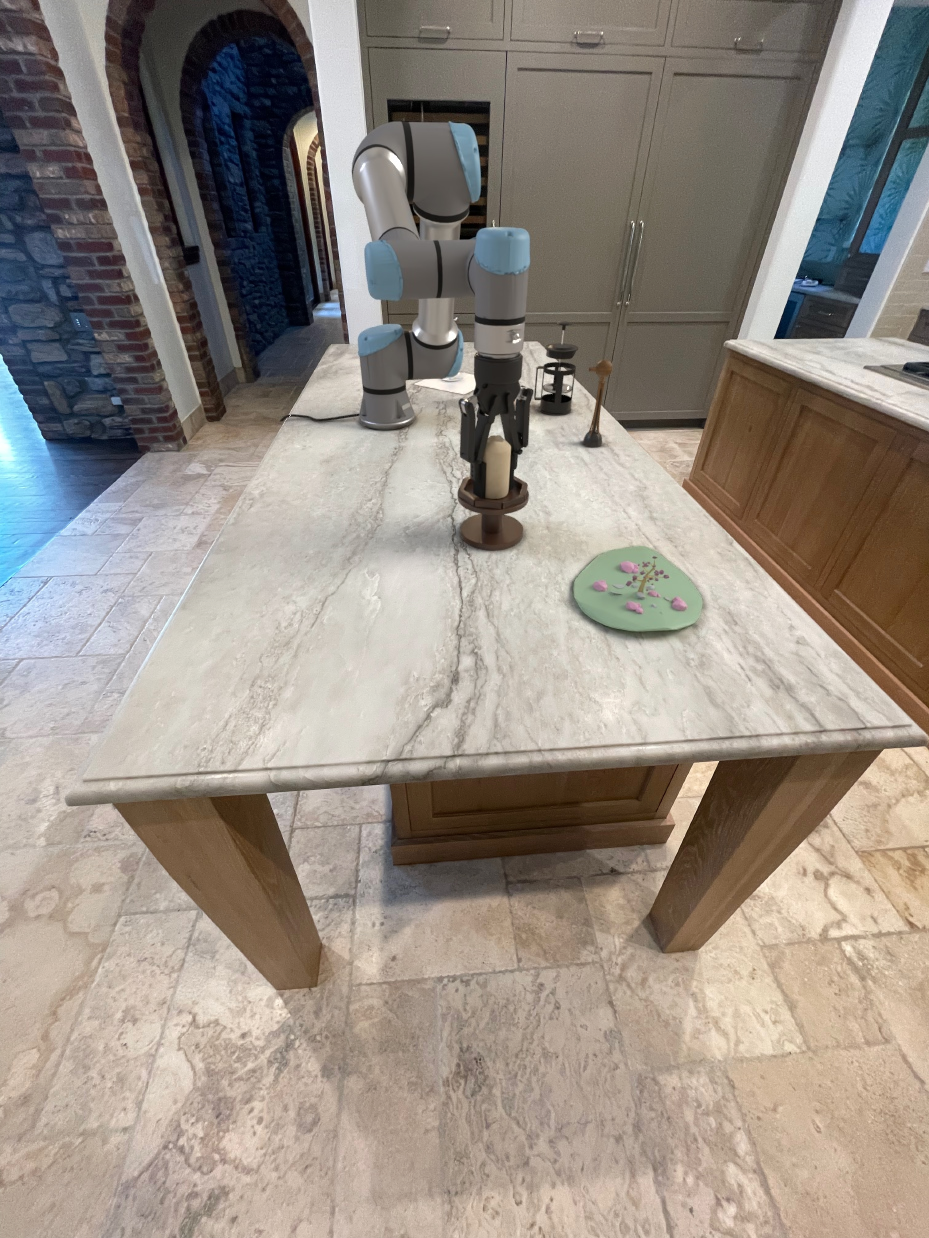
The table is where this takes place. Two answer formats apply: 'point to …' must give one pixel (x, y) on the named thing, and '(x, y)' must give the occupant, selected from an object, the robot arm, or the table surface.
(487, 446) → the candle
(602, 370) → the wooden tabletop sculpture
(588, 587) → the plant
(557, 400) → the french press
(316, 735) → the table surface
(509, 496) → the candle stand
